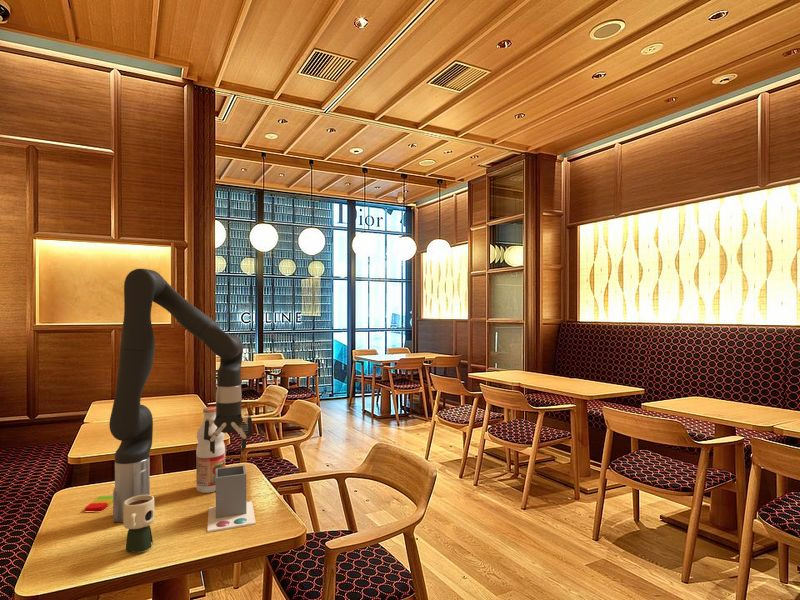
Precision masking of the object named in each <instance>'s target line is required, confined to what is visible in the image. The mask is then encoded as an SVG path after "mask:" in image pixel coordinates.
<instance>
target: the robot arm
mask: <svg viewBox="0 0 800 600" xmlns="http://www.w3.org/2000/svg"><path fill="white" fill-rule="evenodd" d="M123 298H124V299H123V303H124V304H123V305H124V310H123V311H124V312H123V322H122V329H121V330H122V331H121V339H120V340H121V341H120V346H119V353H118V354H119V356H118V368H117V375H116V376H117V377H116V386H115V387H116V388H115V394H114V399H113V404H112V409H111V413H110V416H109V417H110V418H109V424H108V425H109V431H110V433H111V435H112V437H113V438H115V439H116V440H117V441H120V444H119V446H118V448H117V449H116V451H115V453H114V487H113V490H112V493H113V503H112V506H113V510H112V511H113V512H112V513H113V514H112V515H113V516H112V519H113V520H112V522H113V523H124V510H123V505H124V501H126V500H127V499H129V498H131V497H134V496H138V495H151V491H150V488H151V485H150V484H151V482H150V479H151V477H150V474H151V472H150V471H151V470H150V466H151V465H150V464H151V463H150V462H151V461H150V451H151V449H152V446H153V433H154V432H153V431H154V428H153V427H154V420H153V418H154V417H153V415H152V412H151V410H150V409H149V408H148V406H145V405H144V404H142V403H141V400H142V399H141V398H142V393H143V389H144V387H145V384H146V383H147V380H148V378H149V377H150V373H151V371H152V369H153V365H154V360H155V349H156V348H155V347H156V341H155V339H156V338H155V333H154V329H153V325H152V307H153V303H155V304H157V305H158V306H160V307H161V308H162V309H164V310H166V311H167V312H168V313H169V314H171V316H173V318H174V319H175V320H176V321H177V323H179V324H180V325H181V326H182V327H183V328H184V329H185V330H187V331H188V333H191V335H193V336H194V337H196V338H197V339H199V340H200V341H202V342H203V343H204V345H206V347H208V348H209V349H210V350H211V351H212V352H213V353H214V354H215V355H216V356H218V357H219V359H220V360H219V363H220V364H219V367H218V369H217V373H216V375H217V376H216V385H217V386H216V391H215V407H216V418H215V420H209V419H206V420H205V428H204V440H209V441H210V452H212V454H213V453H215V439H216V437H217V436H218V435H219V434H220V433H221V432H223V433H225V434H227V433H235V432H237V433H238V434H239V435H240V436H241V441H240V443H241V444H240V447H241V448H240V450H241V451H242V452H243V451H245V449H246V448H247V439H248V438H250V437H252V436H253V422H252V421H253V419H252V416H251V415H248V416H245V417H243V415H242V398H243V397H242V396H243V395H242V373H241V372H242V370H241V369H242V361H243V354H244V353H243V351H244V344H243V342H242V339H241V338H240V337H238V336H236V335H233V334H232V335H230V334H228V333H227V332H225V331H224V330H223V329H221V327H220V325H219V324H218V323H217V321H215V320H214V319H212V318H211V317H210V316H209V315H207V314H206V313H204V312H203V311H201V310H200V309H199V308H198V307H196V306H194V305H193V304H192V303H191V302H189V301H188V300H187V299H186V298H184V297H183V296H182V295H181V294H179V292H178V291H177V290H176V289H174V288H173V287H172V285H170V284H169V282H168V281H167V280H166V279H165V278H164V277H163V276H162V275H161V274H160V273H159V272H157V271H155V270H154V269H148V268H135V269H133V270H131V271H130V272H129V273H127V275H126V277H125V279H124V284H123ZM243 422H244V423H245V424H246V425H247V431H246V432H245V431H244V430H243V428H242V427H241V425H242V423H243ZM213 423H214V424H215V425H216V426H217V429H216V430H215V431H214V433H213V434H212V436H210V435H208V432H209V427H211V426H212V424H213Z"/></svg>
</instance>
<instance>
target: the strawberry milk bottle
mask: <svg viewBox="0 0 800 600" xmlns="http://www.w3.org/2000/svg"><path fill="white" fill-rule="evenodd" d="M202 414H203V420H202V423H201V425H200V426H199V427H198V429H197V431H196V439H197V445H196V452H195V453H196V454H195V455H196V456H195V457H196V458H195V459H196V461H195V463H196V465H195V466H196V472H195V473H196V474H195V476H196V490H197V492H199V493H202V494H211V493H216V492H215V491H216V469H217V468H225V467H226V444H225V442H224V439H225V438H224V437H225V435H226V433H223V432H221V433H220V434H219V435H218V436H217V437H216V439H215V453H213V454H212V452H210V441H209V440H204V428H205V420H206V419H209V420H215V418H216V406H207V407H204V408H203V409H202ZM216 429H217V426H216V425H215V424H214V423H213V424H212V426H211V427H209V432H208V435H210V436H212V434H213V433H214V431H215V430H216ZM210 492H211V493H210Z"/></svg>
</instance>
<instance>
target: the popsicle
mask: <svg viewBox="0 0 800 600" xmlns="http://www.w3.org/2000/svg"><path fill="white" fill-rule="evenodd" d="M111 503H112V504H113V492H112V493H111V494H109V495H105V496H104V495H102V496H98V497H97V498H96V499H94V500H92V501H91V502H90V503H89V504H87V505H86V506H85V507H84V512H85V511H101V512H103V511H105V510H106V509H107V508H108V507H110V505H112V504H111ZM106 507H107V508H106ZM105 508H106V509H105ZM104 509H105V510H104ZM102 510H103V511H102Z"/></svg>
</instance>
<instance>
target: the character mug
mask: <svg viewBox="0 0 800 600" xmlns="http://www.w3.org/2000/svg"><path fill="white" fill-rule="evenodd" d="M123 510H124V522H123V527H124V528H125V529H127V534H126V540H125V542H126V543H125V552H127V553H143V552H145V551H148V550H149V549H151V548H152V545H154V542H153V541H154V540H153V534H152V529H151V526H150V525H151V524H153V523H154V521H155V496H153V495H151V494H150V495H138V496H134V497H131V498H129V499H127V500H126V501H124V505H123Z"/></svg>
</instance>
